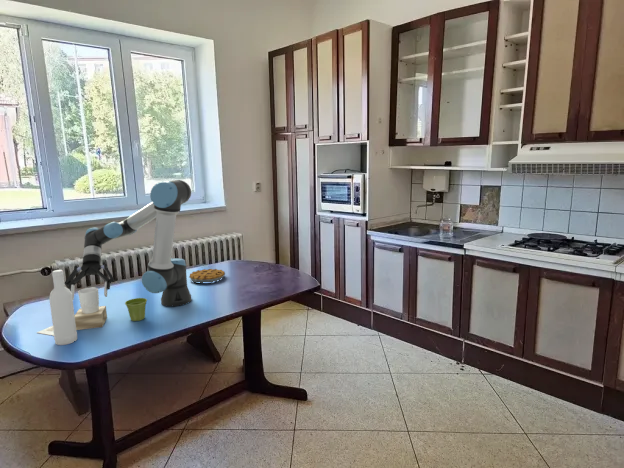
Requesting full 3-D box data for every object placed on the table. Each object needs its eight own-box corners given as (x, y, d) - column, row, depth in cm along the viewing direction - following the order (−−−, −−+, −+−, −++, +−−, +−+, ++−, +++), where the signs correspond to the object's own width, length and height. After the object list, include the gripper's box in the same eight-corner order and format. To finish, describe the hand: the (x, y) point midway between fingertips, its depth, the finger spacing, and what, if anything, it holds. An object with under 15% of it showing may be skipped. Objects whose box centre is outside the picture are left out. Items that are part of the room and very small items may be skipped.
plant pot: (134, 324, 177) (133, 306, 176) (122, 320, 182) (120, 302, 181) (152, 317, 185) (151, 300, 184) (140, 313, 190) (138, 296, 188)
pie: (220, 285, 234) (220, 277, 233) (184, 285, 234) (183, 277, 233) (228, 274, 255) (228, 267, 254) (195, 274, 255) (195, 267, 254)
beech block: (80, 320, 182) (79, 308, 181) (107, 317, 185) (105, 305, 184) (74, 330, 172) (72, 317, 170) (102, 327, 175) (100, 314, 174)
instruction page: (76, 328, 174) (75, 327, 174) (57, 336, 165) (57, 335, 165) (55, 324, 178) (55, 324, 177) (36, 332, 169) (36, 332, 169)
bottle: (50, 343, 159) (40, 272, 154) (68, 335, 166) (59, 267, 161) (64, 346, 156) (55, 274, 151) (82, 338, 164) (73, 269, 158)
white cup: (104, 309, 180) (102, 288, 178) (89, 315, 172) (87, 293, 171) (91, 307, 182) (89, 286, 181) (76, 313, 175) (73, 291, 173)
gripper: (121, 259, 195) (120, 297, 184) (64, 263, 187) (59, 303, 176) (119, 251, 189) (117, 290, 178) (60, 255, 181) (54, 296, 170)
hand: (88, 297), depth 177 cm, fingers open, 13 cm apart
